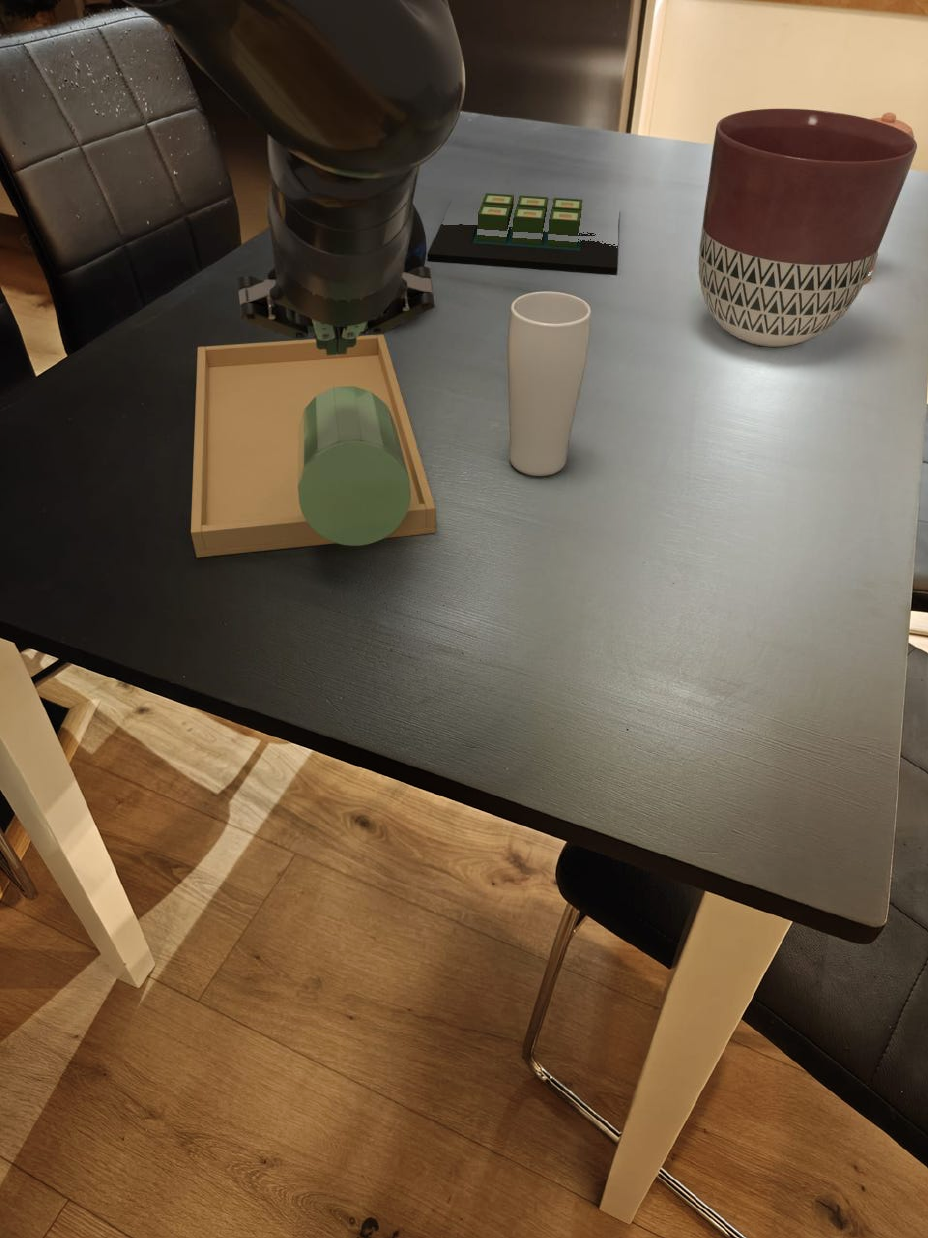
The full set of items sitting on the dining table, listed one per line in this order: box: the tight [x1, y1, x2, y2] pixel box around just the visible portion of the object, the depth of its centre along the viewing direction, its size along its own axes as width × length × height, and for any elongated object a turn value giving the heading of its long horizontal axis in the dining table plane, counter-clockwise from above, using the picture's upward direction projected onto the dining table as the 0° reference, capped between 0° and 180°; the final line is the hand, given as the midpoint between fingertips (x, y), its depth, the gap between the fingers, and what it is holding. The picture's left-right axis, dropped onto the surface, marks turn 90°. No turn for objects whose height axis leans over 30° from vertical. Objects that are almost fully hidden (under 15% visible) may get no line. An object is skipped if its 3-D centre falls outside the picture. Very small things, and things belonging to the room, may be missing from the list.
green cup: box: [298, 386, 411, 547], centre depth 72 cm, size 8×8×13 cm
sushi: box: [426, 192, 619, 275], centre depth 127 cm, size 25×25×4 cm
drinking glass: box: [507, 291, 592, 477], centre depth 79 cm, size 7×7×15 cm
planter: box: [698, 108, 918, 348], centre depth 98 cm, size 20×20×21 cm
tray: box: [190, 334, 437, 558], centre depth 85 cm, size 20×33×3 cm, turn 11°
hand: (335, 341), depth 66 cm, fingers closed
